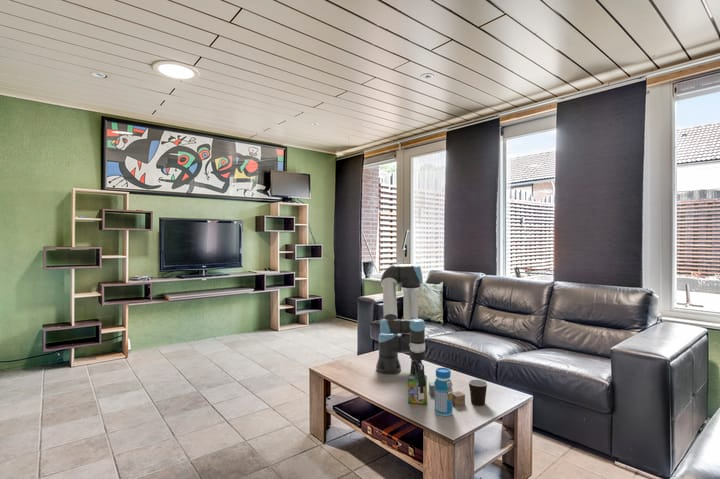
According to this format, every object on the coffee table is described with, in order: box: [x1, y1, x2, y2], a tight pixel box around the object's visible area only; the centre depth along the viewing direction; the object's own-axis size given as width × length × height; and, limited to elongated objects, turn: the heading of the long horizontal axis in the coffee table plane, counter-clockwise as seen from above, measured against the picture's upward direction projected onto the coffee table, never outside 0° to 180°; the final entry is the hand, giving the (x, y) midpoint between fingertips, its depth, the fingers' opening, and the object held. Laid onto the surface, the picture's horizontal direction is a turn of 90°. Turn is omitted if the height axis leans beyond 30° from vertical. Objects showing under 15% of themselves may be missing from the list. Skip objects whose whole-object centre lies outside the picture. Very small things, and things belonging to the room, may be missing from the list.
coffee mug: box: [468, 379, 488, 407], centre depth 191 cm, size 12×9×10 cm
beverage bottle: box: [434, 367, 454, 417], centre depth 180 cm, size 8×8×20 cm
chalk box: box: [407, 370, 428, 405], centre depth 193 cm, size 9×9×15 cm
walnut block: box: [452, 390, 466, 408], centre depth 189 cm, size 5×5×5 cm
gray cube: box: [428, 381, 435, 396], centre depth 202 cm, size 5×5×5 cm
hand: (417, 394), depth 193 cm, fingers closed on chalk box, 11 cm apart
